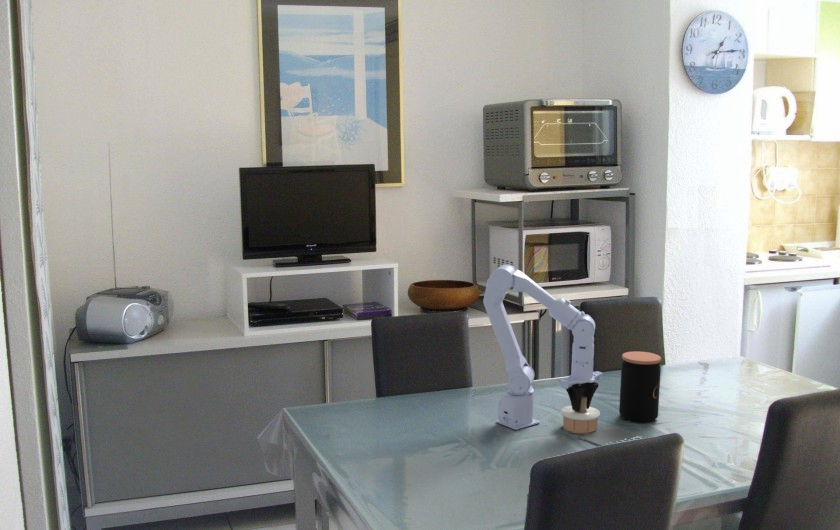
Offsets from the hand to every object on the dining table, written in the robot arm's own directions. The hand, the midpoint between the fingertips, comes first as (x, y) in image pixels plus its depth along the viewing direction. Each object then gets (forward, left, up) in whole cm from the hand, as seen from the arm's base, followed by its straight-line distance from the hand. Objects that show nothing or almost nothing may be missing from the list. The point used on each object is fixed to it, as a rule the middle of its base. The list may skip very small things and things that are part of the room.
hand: (580, 409), depth 231 cm
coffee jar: (+20, -4, -6) cm, 21 cm away
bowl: (0, 0, -5) cm, 5 cm away
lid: (0, 0, -1) cm, 1 cm away
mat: (+1, -11, -5) cm, 12 cm away
